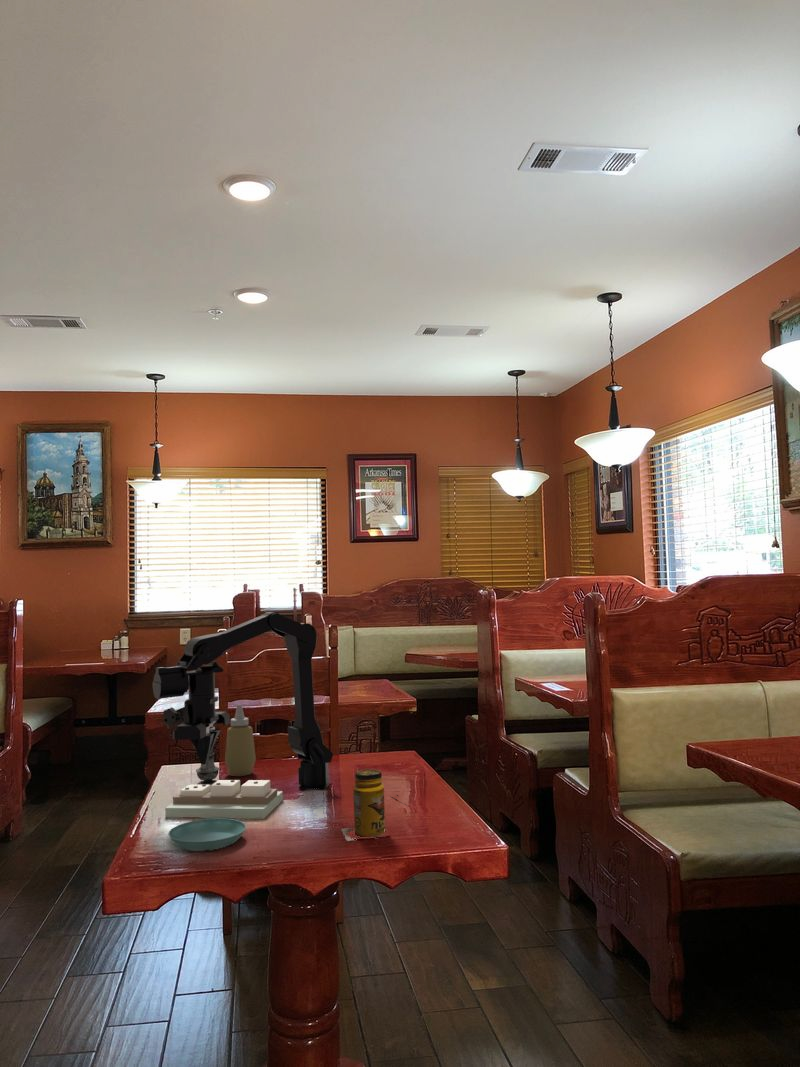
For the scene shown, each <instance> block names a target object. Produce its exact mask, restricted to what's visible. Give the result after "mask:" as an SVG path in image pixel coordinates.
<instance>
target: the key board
mask: <svg viewBox="0 0 800 1067" xmlns="http://www.w3.org/2000/svg"><path fill="white" fill-rule="evenodd" d="M282 800H284V792H283V791H282V790H278V788H270V792H269V793H268V794H267V795H266V796H265V797H241V788H240V792H239V793H238V794H236V795H235V796H234V797H220V796H211V791H210V792H209V793H207V794H206V795H204V796H180V792H178V793H177V794H176V795H174V796H173V797H172V803H170V804H169V805H168V806H166V807H165V814H164V815H165V818H177V817H201V818H200V819H213V818H225V819H265V818H266V817H268V815H270V813H271V812H272V811H273V810H274V809H275V808H277V806H279V804H281V803H282V802H283V801H282ZM281 801H282V802H281ZM280 802H281V803H280Z"/></svg>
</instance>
